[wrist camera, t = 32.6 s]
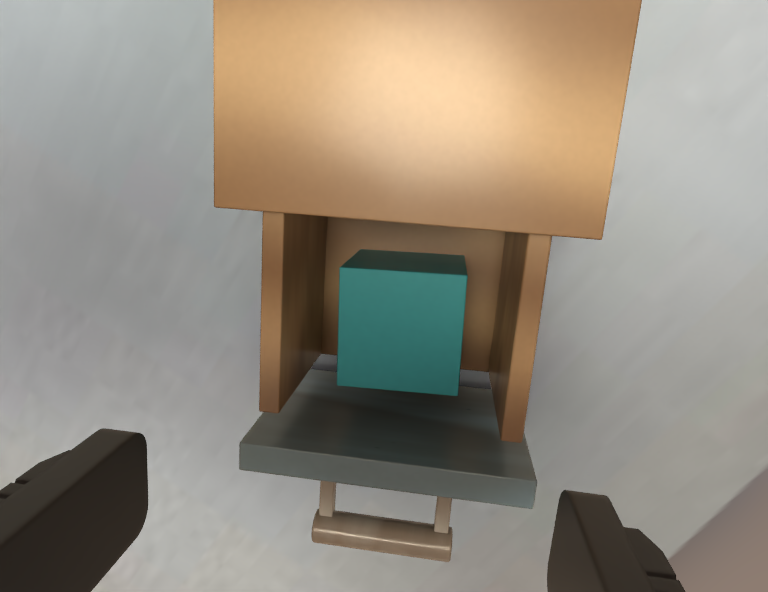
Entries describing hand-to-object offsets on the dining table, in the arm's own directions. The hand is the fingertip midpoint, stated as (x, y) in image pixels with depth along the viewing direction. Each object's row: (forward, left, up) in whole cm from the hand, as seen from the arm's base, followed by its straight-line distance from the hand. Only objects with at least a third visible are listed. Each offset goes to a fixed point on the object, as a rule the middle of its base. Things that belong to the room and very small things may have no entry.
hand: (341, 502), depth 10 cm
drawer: (-1, -1, -18) cm, 18 cm away
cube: (0, 0, -17) cm, 17 cm away
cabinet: (+10, +7, -19) cm, 22 cm away
